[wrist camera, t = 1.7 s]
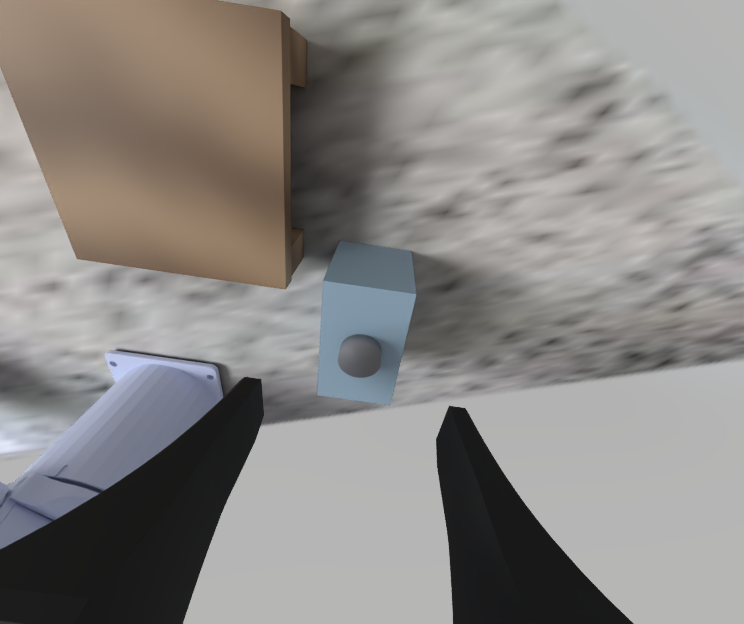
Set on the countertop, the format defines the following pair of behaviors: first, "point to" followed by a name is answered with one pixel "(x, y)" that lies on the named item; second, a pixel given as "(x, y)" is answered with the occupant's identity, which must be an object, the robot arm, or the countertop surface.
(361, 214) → the countertop surface
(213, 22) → the stand
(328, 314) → the housing
